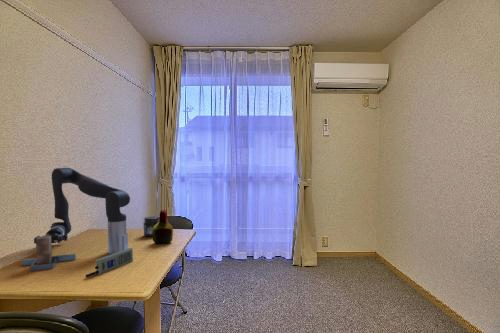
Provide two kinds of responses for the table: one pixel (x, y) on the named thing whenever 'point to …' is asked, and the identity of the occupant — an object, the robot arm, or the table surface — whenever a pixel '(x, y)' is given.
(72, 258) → the keeper
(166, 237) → the bottle
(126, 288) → the table surface
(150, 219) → the supplement container
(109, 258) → the handheld radio
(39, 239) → the block
